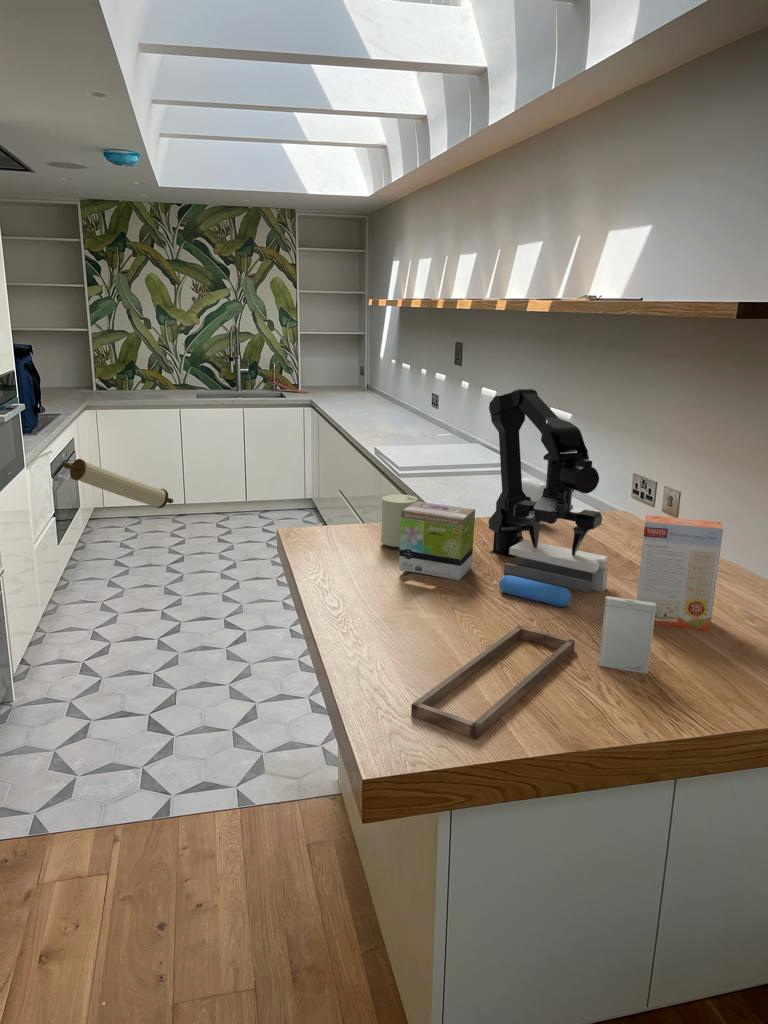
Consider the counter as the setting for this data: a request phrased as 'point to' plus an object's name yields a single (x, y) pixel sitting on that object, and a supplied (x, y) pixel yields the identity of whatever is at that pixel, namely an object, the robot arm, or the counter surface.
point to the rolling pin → (117, 483)
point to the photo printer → (533, 489)
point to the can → (393, 517)
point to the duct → (558, 575)
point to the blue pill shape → (535, 590)
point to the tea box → (436, 540)
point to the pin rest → (460, 725)
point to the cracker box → (680, 569)
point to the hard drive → (627, 634)
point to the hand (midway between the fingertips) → (554, 551)
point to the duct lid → (559, 556)
